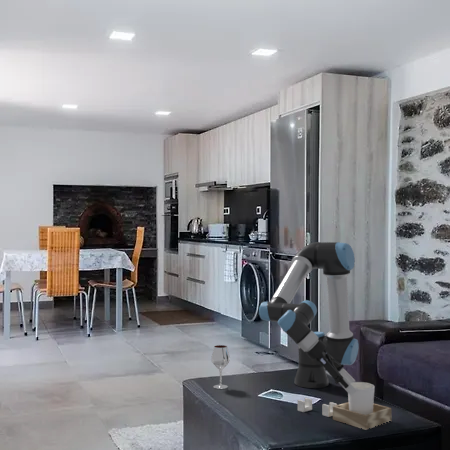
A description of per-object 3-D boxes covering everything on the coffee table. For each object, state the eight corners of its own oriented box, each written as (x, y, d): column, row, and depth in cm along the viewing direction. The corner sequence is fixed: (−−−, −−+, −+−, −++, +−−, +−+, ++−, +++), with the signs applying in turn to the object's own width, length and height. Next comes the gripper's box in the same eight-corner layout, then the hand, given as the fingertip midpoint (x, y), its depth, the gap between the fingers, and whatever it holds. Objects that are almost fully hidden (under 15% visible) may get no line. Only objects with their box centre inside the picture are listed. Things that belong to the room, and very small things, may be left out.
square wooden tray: (358, 411, 235) (358, 399, 235) (391, 421, 224) (391, 408, 224) (332, 419, 226) (332, 406, 226) (365, 429, 214) (365, 416, 214)
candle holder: (375, 423, 219) (375, 389, 219) (347, 421, 221) (347, 388, 221) (373, 414, 229) (373, 382, 229) (347, 413, 230) (347, 381, 230)
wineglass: (218, 383, 277) (218, 344, 277) (233, 386, 272) (233, 346, 272) (207, 387, 270) (207, 346, 270) (222, 390, 265) (222, 349, 265)
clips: (311, 406, 242) (311, 396, 242) (337, 414, 232) (337, 403, 232) (297, 410, 237) (297, 400, 237) (323, 418, 227) (323, 407, 227)
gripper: (306, 345, 240) (345, 385, 237) (303, 360, 215) (346, 404, 213) (320, 332, 239) (359, 372, 236) (318, 345, 214) (362, 390, 212)
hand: (353, 388), depth 225 cm, fingers open, 13 cm apart
